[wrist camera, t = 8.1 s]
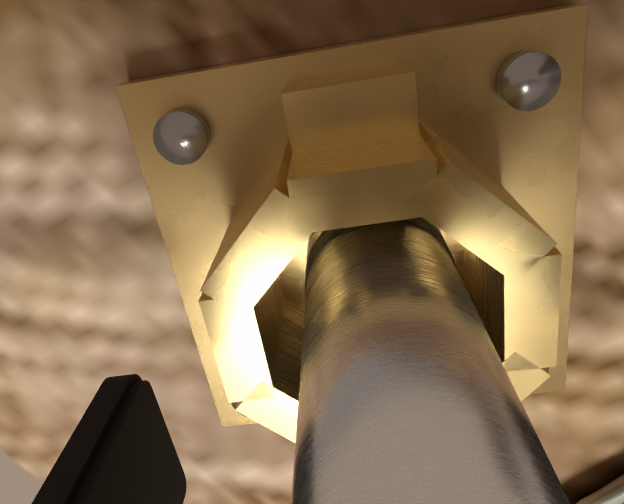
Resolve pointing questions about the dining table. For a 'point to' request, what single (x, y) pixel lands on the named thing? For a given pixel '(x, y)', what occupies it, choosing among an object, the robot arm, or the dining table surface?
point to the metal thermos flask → (405, 381)
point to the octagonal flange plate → (368, 186)
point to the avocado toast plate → (607, 494)
